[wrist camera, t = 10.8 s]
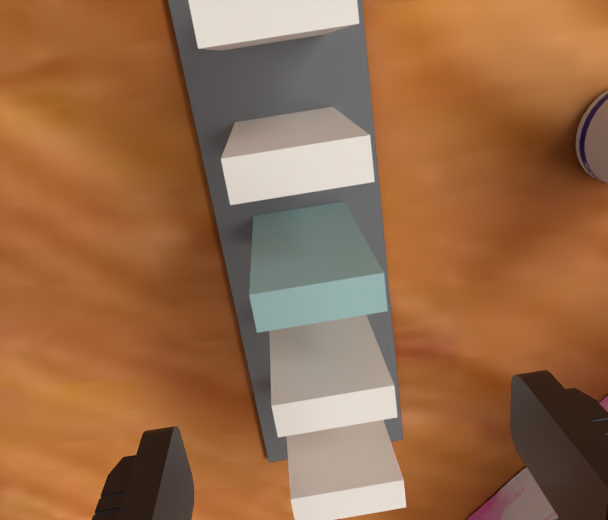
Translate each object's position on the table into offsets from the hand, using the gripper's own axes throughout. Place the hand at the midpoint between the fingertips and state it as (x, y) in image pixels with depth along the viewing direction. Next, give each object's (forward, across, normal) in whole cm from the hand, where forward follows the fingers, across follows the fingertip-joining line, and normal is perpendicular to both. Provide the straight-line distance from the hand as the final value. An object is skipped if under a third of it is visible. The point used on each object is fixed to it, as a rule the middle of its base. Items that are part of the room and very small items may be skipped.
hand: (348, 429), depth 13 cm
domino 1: (+18, 0, -10) cm, 20 cm away
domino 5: (+17, 0, +10) cm, 20 cm away
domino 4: (+17, 0, +5) cm, 18 cm away
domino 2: (+17, 0, -5) cm, 18 cm away
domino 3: (+17, 0, 0) cm, 17 cm away
